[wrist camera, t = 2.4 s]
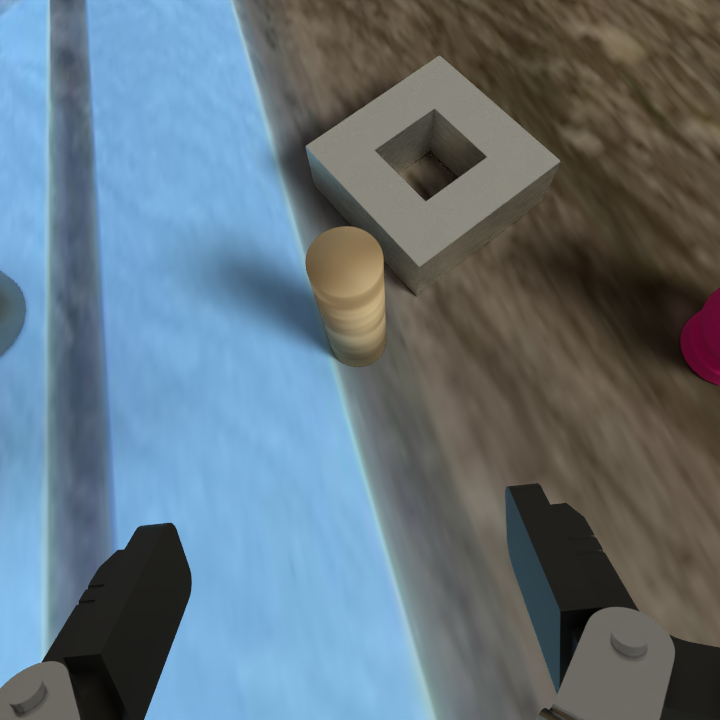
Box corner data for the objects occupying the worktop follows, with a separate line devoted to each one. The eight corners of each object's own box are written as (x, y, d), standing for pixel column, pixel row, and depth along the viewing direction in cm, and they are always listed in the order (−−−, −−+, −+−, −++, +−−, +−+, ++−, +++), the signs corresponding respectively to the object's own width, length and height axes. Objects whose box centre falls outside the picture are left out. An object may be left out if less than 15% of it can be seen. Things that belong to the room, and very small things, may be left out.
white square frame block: (314, 185, 47) (305, 146, 42) (435, 101, 49) (439, 55, 44) (416, 296, 43) (419, 266, 38) (543, 200, 45) (560, 161, 41)
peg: (319, 337, 43) (290, 256, 30) (363, 304, 43) (351, 212, 31) (353, 378, 41) (337, 311, 29) (397, 344, 42) (399, 264, 30)
